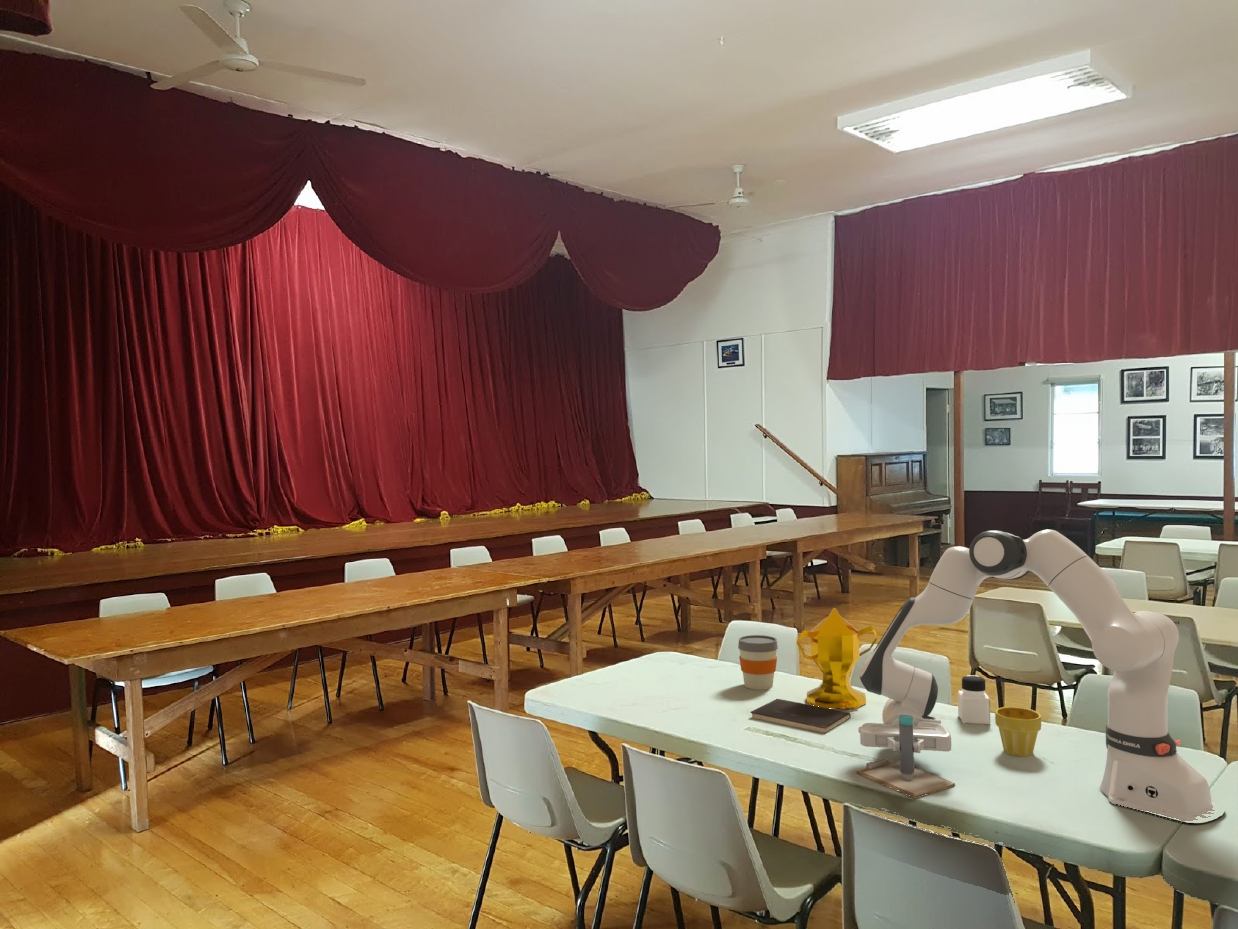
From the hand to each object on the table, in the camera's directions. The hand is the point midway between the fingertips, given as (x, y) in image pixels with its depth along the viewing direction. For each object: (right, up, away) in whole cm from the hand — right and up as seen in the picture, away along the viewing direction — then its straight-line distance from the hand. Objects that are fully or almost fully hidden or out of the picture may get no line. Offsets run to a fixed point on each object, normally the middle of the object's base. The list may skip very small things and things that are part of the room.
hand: (906, 748), depth 194 cm
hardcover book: (-14, -8, +49) cm, 52 cm away
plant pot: (+34, -7, +19) cm, 40 cm away
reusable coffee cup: (-20, -7, +82) cm, 85 cm away
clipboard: (+1, -8, +3) cm, 9 cm away
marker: (0, -7, +1) cm, 7 cm away
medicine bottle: (+33, -7, +44) cm, 56 cm away
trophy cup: (0, -7, +63) cm, 63 cm away
